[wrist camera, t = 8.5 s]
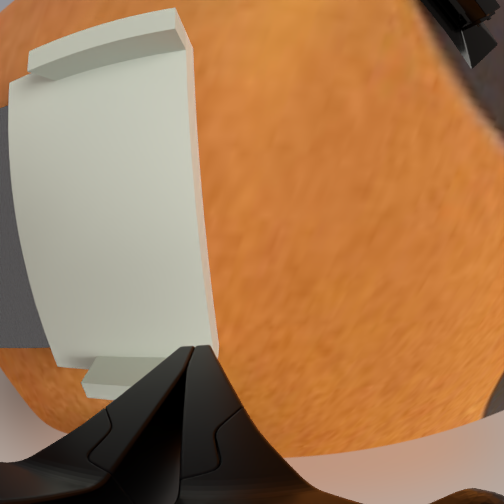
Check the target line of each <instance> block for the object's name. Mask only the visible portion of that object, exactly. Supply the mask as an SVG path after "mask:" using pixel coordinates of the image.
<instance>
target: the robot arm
mask: <svg viewBox="0 0 504 504" xmlns="http://www.w3.org/2000/svg"><path fill="white" fill-rule="evenodd" d="M0 504H362V503H359V502H355V501H352V500H348V499H345V498H342V497H339V496H335V495H332V494H329V493H326V492H323V491H321V490H319V489H317V488H315V487H313V486H312V485H310V484H309V483H308V482H307V481H305V480H304V479H303V478H302V477H301V476H300V475H299V474H298V473H297V472H296V471H295V470H294V469H293V468H292V467H291V466H290V465H289V464H288V463H287V462H286V461H285V460H284V459H283V458H282V457H281V455H280V454H279V453H278V452H277V451H276V450H275V449H274V448H273V447H272V446H271V445H270V444H269V442H268V441H267V440H266V439H265V438H264V436H263V435H262V434H261V433H260V431H259V430H258V429H257V427H256V426H255V424H254V423H253V421H252V420H251V418H250V417H249V415H248V413H247V411H246V410H245V409H244V406H243V405H242V403H241V401H240V399H239V398H238V396H237V394H236V392H235V390H234V389H233V387H232V385H231V383H230V381H229V380H228V378H227V376H226V374H225V372H224V370H223V368H222V367H221V365H220V363H219V361H218V359H217V357H216V355H215V353H214V351H213V349H212V347H211V346H210V345H197V346H196V347H194V346H181V347H179V348H178V349H177V350H176V351H174V352H173V353H172V354H171V355H170V356H168V357H167V358H166V359H165V360H163V361H162V362H161V363H160V364H159V365H157V366H156V367H155V368H154V369H152V370H151V371H150V372H149V373H148V374H146V375H145V376H144V377H143V378H141V379H140V380H139V381H138V382H136V383H135V384H134V385H133V386H131V387H130V388H129V389H128V390H126V391H125V392H124V393H123V394H121V395H120V396H119V397H118V398H116V399H115V400H114V401H113V402H111V403H110V404H109V405H108V406H106V409H102V410H101V411H100V412H99V413H97V414H96V415H95V416H93V417H92V418H91V419H89V420H88V421H87V422H85V423H84V424H83V425H81V426H80V427H78V428H77V429H75V430H74V431H72V432H71V433H69V434H67V435H66V436H64V437H63V438H61V439H59V440H58V441H56V442H55V443H53V444H51V445H50V446H48V447H46V448H45V449H43V450H41V451H40V452H38V453H36V454H35V455H33V456H31V457H29V458H27V459H24V460H22V461H18V462H9V463H4V462H0ZM430 504H504V496H503V495H500V494H497V493H495V492H490V491H486V490H481V489H476V488H471V489H464V490H461V491H458V492H455V493H453V494H450V495H448V496H446V497H444V498H441V499H439V500H437V501H435V502H432V503H430Z"/></svg>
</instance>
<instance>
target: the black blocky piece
mask: <svg viewBox="0 0 504 504" xmlns="http://www.w3.org/2000/svg"><path fill="white" fill-rule="evenodd" d="M421 1H422V3H423V4H424V5H425V6H426V7H427V9H428V10H429V11H430V12H431V13H432V15H433V16H434V17H435V18H436V20H437V21H438V22H439V23H440V25H441V26H442V27H443V29H444V30H445V31H446V33H447V34H448V35H449V37H450V38H451V40H452V41H453V42H454V44H455V45H456V47H457V48H458V50H459V51H460V53H461V54H462V56H463V57H464V59H465V60H466V62H467V63H468V65H469V66H470V68H474V67H475V66H476V65H477V64H478V63H479V62H480V61H481V60H482V59H483V58H484V57H485V56H486V55H487V54H488V53H489V52H490V51H491V50H492V49H494V48H495V47H496V46H497V42H496V41H495V39H494V38H493V36H492V35H491V33H490V32H489V30H488V29H487V27H486V26H485V24H484V23H483V21H485V20H486V19H487V20H490V19H491V16H492V15H494V14H495V12H494V11H495V10H497V9H498V8H500V6H499V4H498V3H497V1H496V0H421Z"/></svg>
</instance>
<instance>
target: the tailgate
mask: <svg viewBox="0 0 504 504" xmlns="http://www.w3.org/2000/svg"><path fill="white" fill-rule="evenodd" d="M47 347H50V345H49V343H48V340H47V337H46V334H45V331H44V329H43V326H42V323H41V320H40V316H39V313H38V310H37V307H36V304H35V300H34V297H33V293H32V290H31V286H30V282H29V278H28V274H27V270H26V266H25V262H24V258H23V253H22V248H21V243H20V238H19V233H18V227H17V221H16V215H15V208H14V201H13V193H12V184H11V173H10V160H9V139H8V106H5V107H3V108H0V348H47Z"/></svg>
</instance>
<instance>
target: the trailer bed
mask: <svg viewBox="0 0 504 504" xmlns="http://www.w3.org/2000/svg"><path fill="white" fill-rule="evenodd" d="M27 71H28V72H31V74H28V75H26V76H24V77H21V78H19V79H17V80H15V81H13V82H10V83H9V104H8V139H9V160H10V173H11V184H12V193H13V201H14V208H15V215H16V221H17V227H18V233H19V238H20V243H21V248H22V253H23V258H24V262H25V266H26V270H27V274H28V278H29V282H30V286H31V290H32V293H33V297H34V300H35V304H36V307H37V310H38V313H39V316H40V320H41V323H42V326H43V329H44V331H45V334H46V337H47V340H48V343H49V345H50V348H51V351H52V353H53V356H54V358H55V361H56V363H57V366H58V367H68V368H79V369H89V370H88V372H87V374H86V375H85V377H84V378H83V380H82V382H81V384H82V386H83V389H84V391H85V393H86V395H87V397H88V398H98V399H108V400H115V399H116V398H118V397H119V396H120V395H121V394H123V393H124V392H125V391H126V390H128V389H129V388H130V387H131V386H133V385H134V384H135V383H136V382H138V381H139V380H140V379H141V378H143V377H144V376H145V375H146V374H148V373H149V372H150V371H151V370H152V369H154V368H155V367H156V366H157V365H159V364H160V363H161V362H162V361H163V360H165V359H166V358H167V357H168V356H170V355H171V354H172V353H173V352H174V351H176V350H177V349H178V348H179V347H181V346H194V347H196V346H197V345H210V346H211V347H212V349H213V351H214V353H215V355H216V357H217V359H218V352H219V342H218V334H217V327H216V319H215V311H214V303H213V295H212V286H211V278H210V269H209V260H208V251H207V241H206V231H205V221H204V210H203V199H202V188H201V176H200V163H199V149H198V135H197V119H196V102H195V82H194V59H193V47H192V45H191V43H190V40H189V38H188V36H187V33H186V31H185V29H184V27H183V24H182V22H181V20H180V17H179V15H178V13H177V11H176V8H170V9H165V10H159V11H154V12H149V13H144V14H140V15H135V16H131V17H127V18H123V19H119V20H115V21H112V22H108V23H105V24H101V25H98V26H95V27H92V28H88V29H85V30H82V31H79V32H77V33H74V34H71V35H68V36H65V37H63V38H60V39H58V40H55V41H52V42H50V43H48V44H45V45H43V46H40V47H38V48H36V49H34V50H31V51H29V58H28V70H27Z"/></svg>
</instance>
